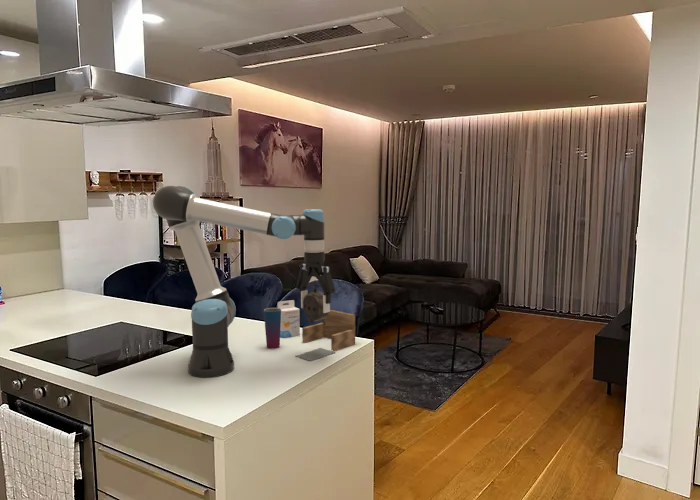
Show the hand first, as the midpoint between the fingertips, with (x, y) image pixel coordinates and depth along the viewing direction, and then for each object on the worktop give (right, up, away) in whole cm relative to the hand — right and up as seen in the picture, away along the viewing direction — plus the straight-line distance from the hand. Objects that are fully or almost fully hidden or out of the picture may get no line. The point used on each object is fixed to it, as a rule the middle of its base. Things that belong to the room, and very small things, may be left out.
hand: (315, 309), depth 182 cm
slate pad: (0, -17, +2) cm, 17 cm away
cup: (-18, -16, +12) cm, 27 cm away
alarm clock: (0, -5, +1) cm, 5 cm away
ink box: (-13, -15, +29) cm, 35 cm away
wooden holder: (+4, -16, +17) cm, 23 cm away
